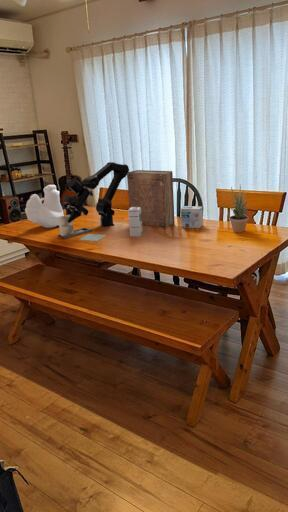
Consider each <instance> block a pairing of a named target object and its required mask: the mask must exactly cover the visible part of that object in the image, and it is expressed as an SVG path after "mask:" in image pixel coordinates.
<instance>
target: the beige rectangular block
mask: <svg viewBox="0 0 288 512" xmlns="http://www.w3.org/2000/svg"><path fill="white" fill-rule="evenodd" d="M70 216H71V215H66V214H65V215H64V216H60V217H58V222H59V225H58V228H59V234H60V235H61V237H64V236H67V235H71V234H75V233H74V230H75V229H74V228H75V227H74V220H73V221H71V222H70V223H68V220H69V218H70Z"/></svg>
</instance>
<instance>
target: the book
mask: <svg viewBox="0 0 288 512" xmlns="http://www.w3.org/2000/svg"><path fill="white" fill-rule="evenodd" d="M173 177H174V176H173V171H172V170H148V169H147V170H144V169H143V170H142V169H137V170H132V171H129V172H127V175H126V179H127V181H126V182H127V191H128V203H129V209H130V208H131V207H141V216H142V226H147V227H156V228H162V229H167V227H168V226H170V225H175V223H176V222H175V204H174V203H175V201H174V200H175V199H174V198H175V197H174V180H173V179H174V178H173Z"/></svg>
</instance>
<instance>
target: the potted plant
mask: <svg viewBox="0 0 288 512" xmlns="http://www.w3.org/2000/svg"><path fill="white" fill-rule="evenodd" d="M230 188H231V191H232V194H233V195H232V196H233V197H234V199H235V200H234V199H233V198H231V199H232V200H231V201H232V203H233V205H234V208H232V207H230V209H231V211H232V213H233V214H234V215H231V216H229V217H228V218H229V222H230V225H231V228H232V231H233V232H234V233H245V231H246V227H247V224H248V221H249V216H248V215H247V212H248V210H249V208H250V207H249V206H248V207H247V204H248V201H246V196H245V197H244V191H241V189H242V187H241V185H239V190H238V191H239V192H238V193H239V194H236V192H235V191H234V190H233V187H232V186H231V187H230ZM237 195H238V196H237ZM243 197H244V199H243ZM245 201H246V202H245Z"/></svg>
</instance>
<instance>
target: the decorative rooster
mask: <svg viewBox="0 0 288 512" xmlns="http://www.w3.org/2000/svg"><path fill="white" fill-rule="evenodd" d="M42 191H43V193H44V197H42V198H41V197H40V196H39V195H38V194H36V193H34V194H33V193H32V194H31V195H30V196H29V198H28V200H27V202H26V204H25V209H24V212H25V215H26V218H27V220H28V221H30V222H32V223H33V224H35V223H37V224H39V225H40V226H41V227H43V228H46V229H52V228H56V227H57V226H58V227H59V222H58V217H60V216H65V215H64V211H63V210H64V208H63V207H62V206H61V205H62V203H61V202H60V201H61V198H60V190H57V185H55V184H48V185H46V186H44V188H43V190H42ZM42 201H43V202H42Z"/></svg>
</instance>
